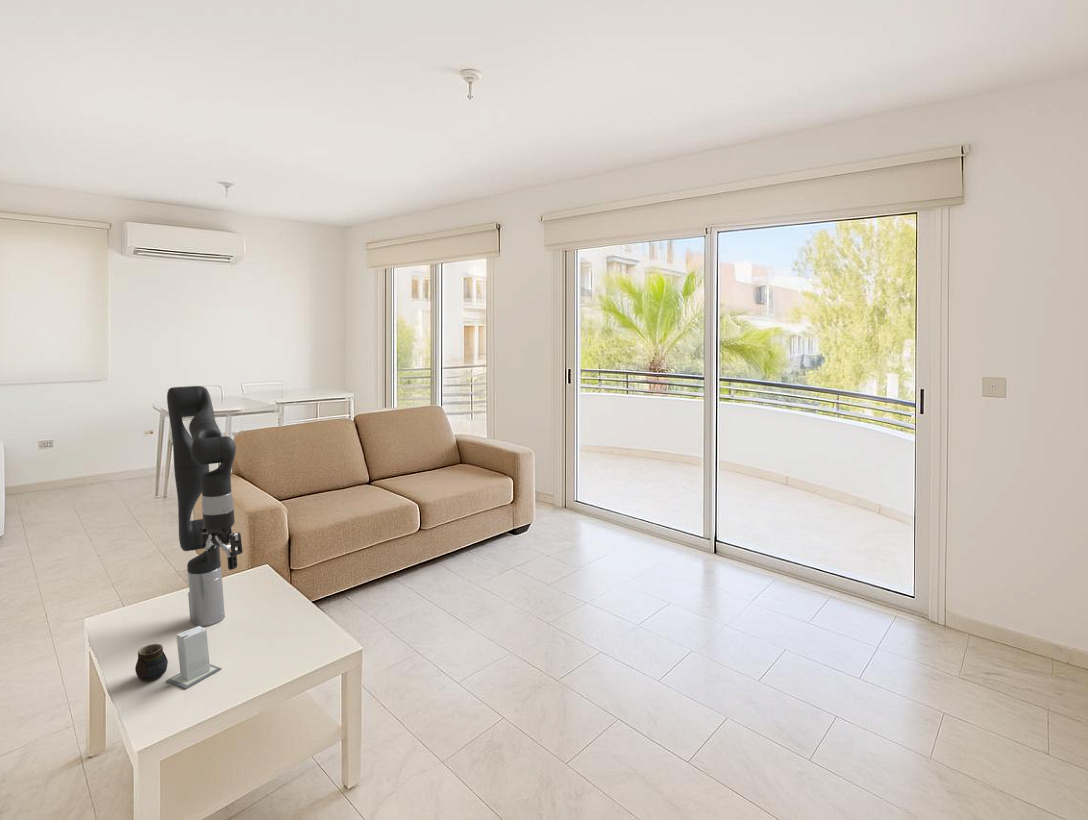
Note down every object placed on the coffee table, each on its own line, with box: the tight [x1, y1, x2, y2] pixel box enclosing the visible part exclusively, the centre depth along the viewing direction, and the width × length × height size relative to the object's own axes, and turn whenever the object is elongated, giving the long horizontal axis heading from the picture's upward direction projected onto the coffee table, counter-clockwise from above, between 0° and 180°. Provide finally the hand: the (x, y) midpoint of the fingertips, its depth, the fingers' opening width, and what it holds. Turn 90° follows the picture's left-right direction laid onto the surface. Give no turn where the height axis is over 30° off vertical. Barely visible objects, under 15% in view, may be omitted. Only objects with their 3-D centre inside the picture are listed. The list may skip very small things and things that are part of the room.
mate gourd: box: [134, 643, 169, 682], centre depth 159 cm, size 7×8×10 cm
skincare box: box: [176, 626, 211, 680], centre depth 159 cm, size 6×4×12 cm
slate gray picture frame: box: [165, 663, 222, 690], centre depth 160 cm, size 8×10×1 cm
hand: (222, 565), depth 165 cm, fingers open, 8 cm apart
